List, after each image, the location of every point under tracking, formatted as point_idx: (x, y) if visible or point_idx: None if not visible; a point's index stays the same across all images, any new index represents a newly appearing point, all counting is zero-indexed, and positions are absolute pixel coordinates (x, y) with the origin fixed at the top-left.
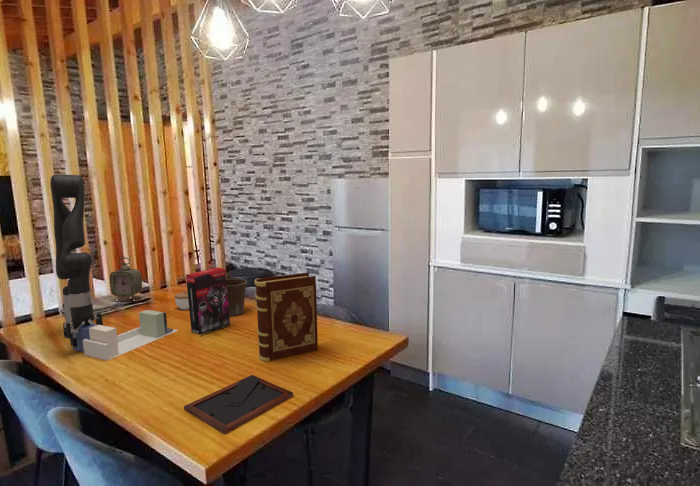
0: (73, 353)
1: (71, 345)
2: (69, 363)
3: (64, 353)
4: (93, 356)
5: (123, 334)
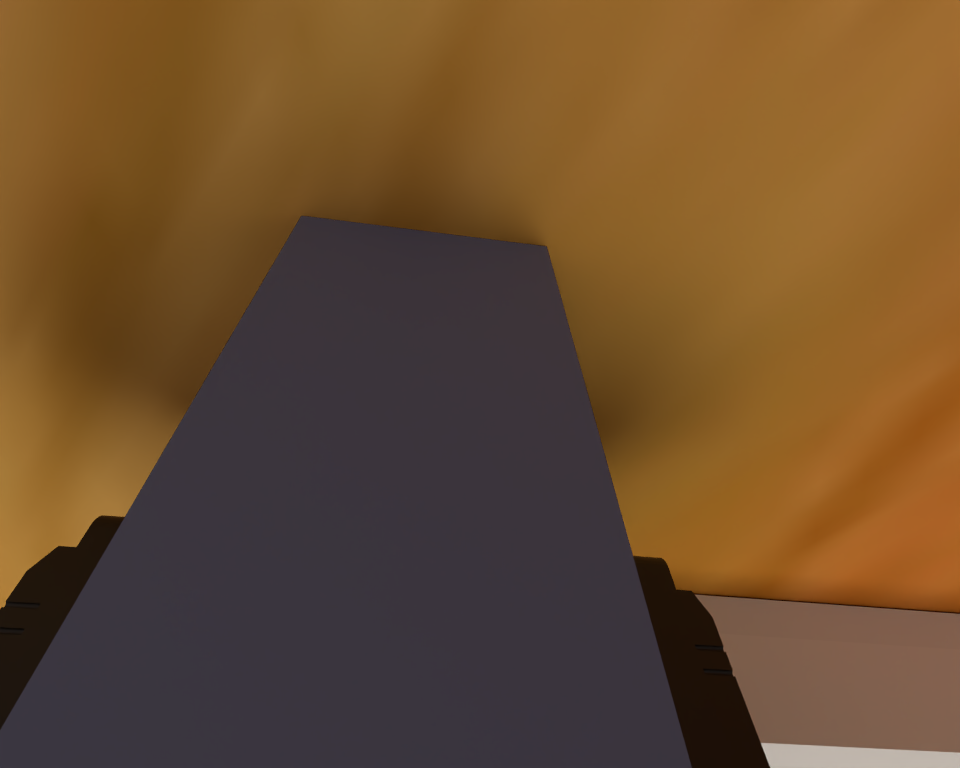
0: (266, 263)
1: (41, 576)
2: (9, 530)
3: (165, 52)
4: None
5: (879, 762)
